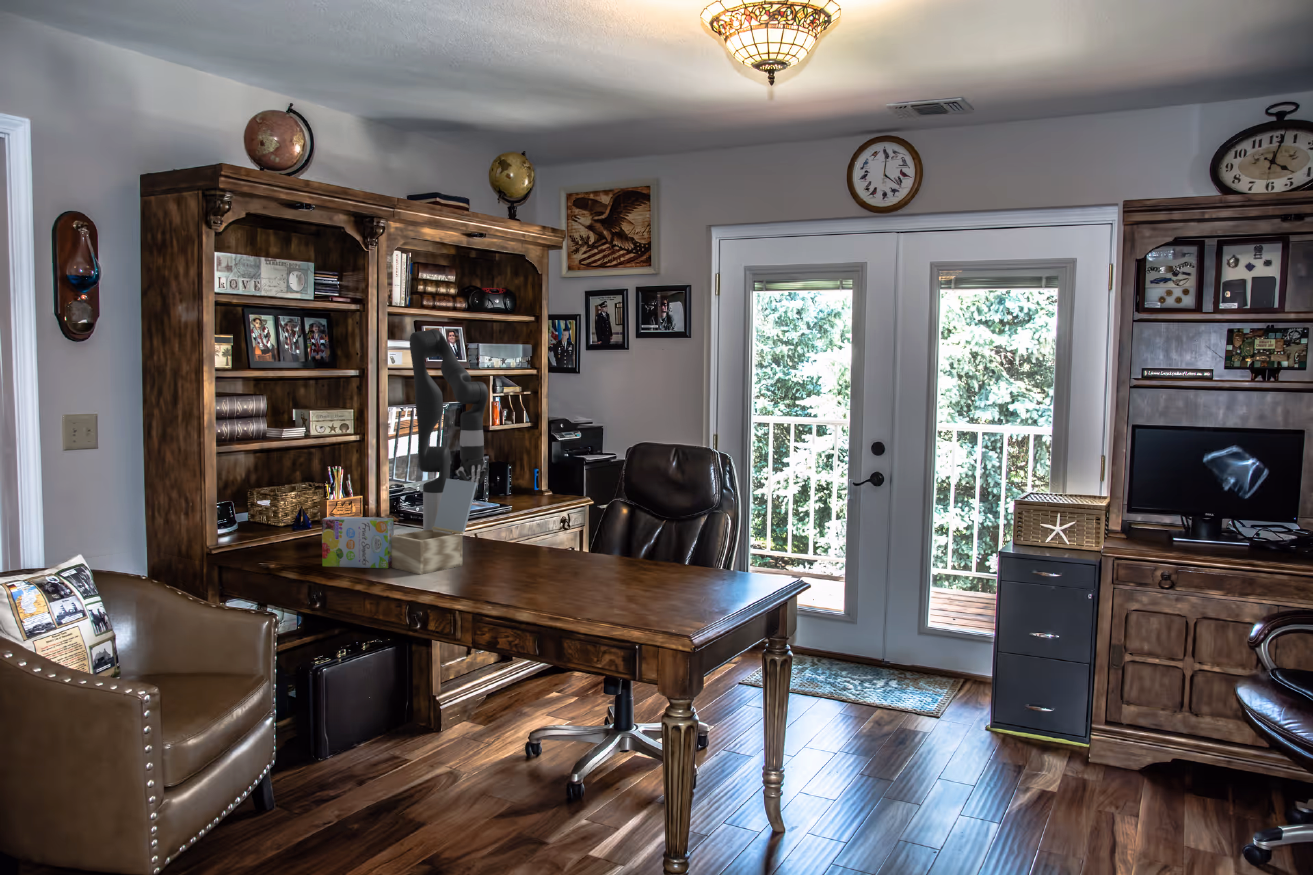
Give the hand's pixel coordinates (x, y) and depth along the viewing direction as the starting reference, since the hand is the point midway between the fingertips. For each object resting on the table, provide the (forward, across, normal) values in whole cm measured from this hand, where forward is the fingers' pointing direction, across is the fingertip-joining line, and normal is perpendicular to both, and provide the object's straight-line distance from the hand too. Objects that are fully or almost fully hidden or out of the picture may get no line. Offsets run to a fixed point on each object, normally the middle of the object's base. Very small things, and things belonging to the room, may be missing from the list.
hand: (472, 497), depth 302 cm
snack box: (+20, +31, -17) cm, 41 cm away
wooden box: (+20, +18, 0) cm, 27 cm away
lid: (+2, +8, 0) cm, 8 cm away
